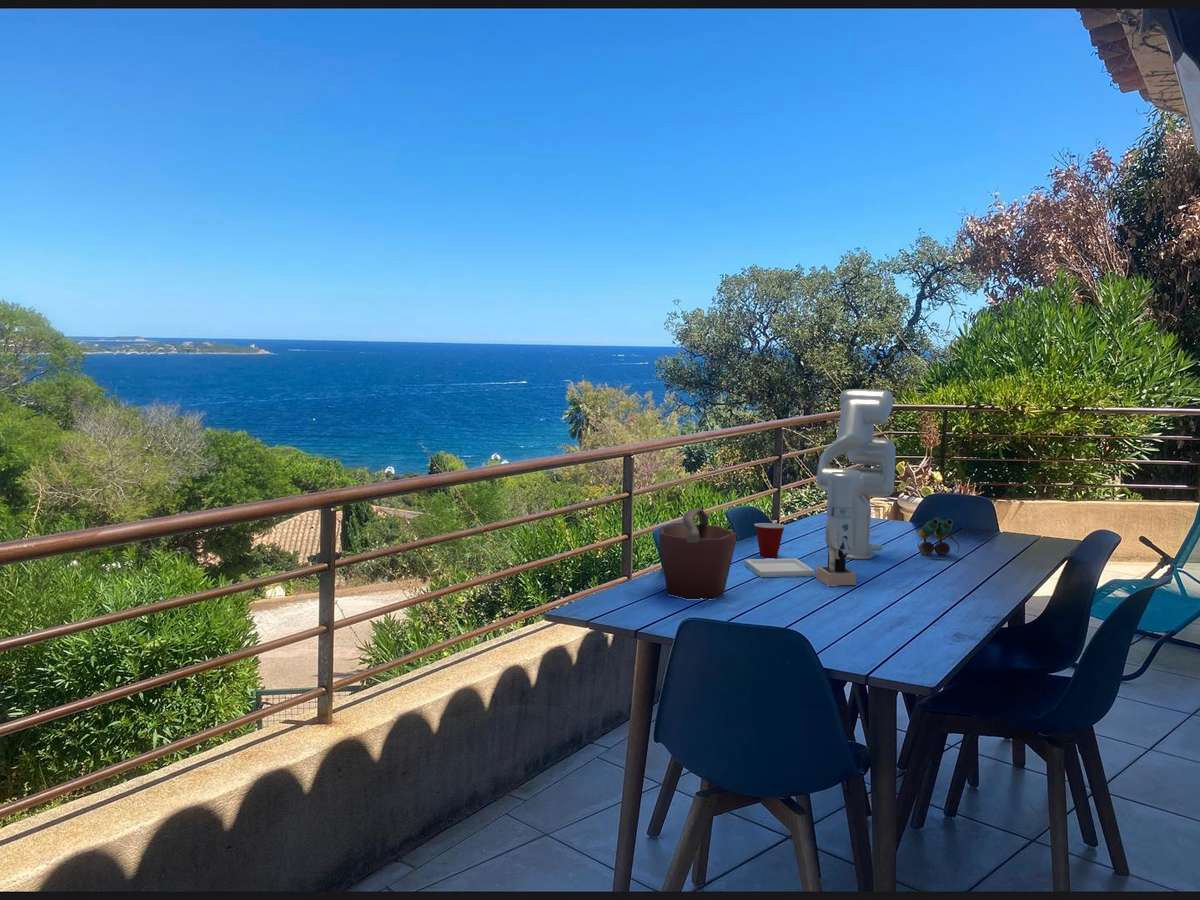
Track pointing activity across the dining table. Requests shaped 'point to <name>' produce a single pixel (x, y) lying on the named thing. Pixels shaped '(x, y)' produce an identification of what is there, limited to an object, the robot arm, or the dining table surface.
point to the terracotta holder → (835, 576)
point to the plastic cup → (769, 538)
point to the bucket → (696, 557)
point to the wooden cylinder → (833, 559)
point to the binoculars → (940, 532)
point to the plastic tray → (779, 567)
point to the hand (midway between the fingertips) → (836, 568)
